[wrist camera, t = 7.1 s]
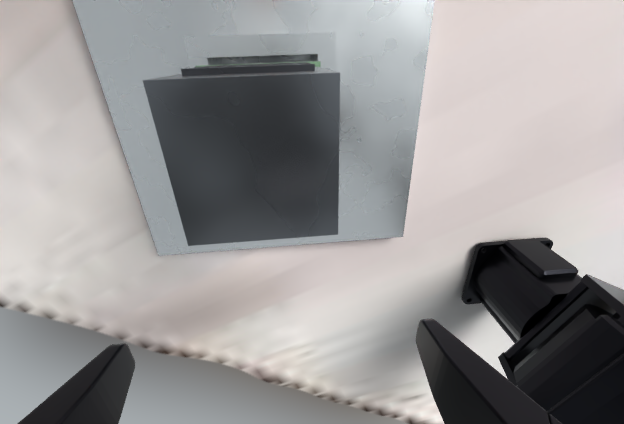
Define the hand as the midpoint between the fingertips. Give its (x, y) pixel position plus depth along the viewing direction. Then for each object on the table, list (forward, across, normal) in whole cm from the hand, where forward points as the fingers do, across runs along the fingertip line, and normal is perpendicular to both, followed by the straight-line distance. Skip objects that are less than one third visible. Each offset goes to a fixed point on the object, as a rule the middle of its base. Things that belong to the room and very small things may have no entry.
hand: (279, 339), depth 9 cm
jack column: (+9, 0, -5) cm, 10 cm away
